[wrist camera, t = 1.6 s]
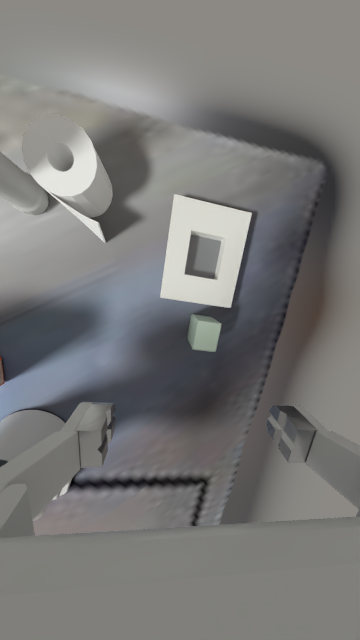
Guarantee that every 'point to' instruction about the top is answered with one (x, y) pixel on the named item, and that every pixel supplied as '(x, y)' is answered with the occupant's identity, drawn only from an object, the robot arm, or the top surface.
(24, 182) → the bottle
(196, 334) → the plug
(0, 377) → the cracker box
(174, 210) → the socket plate
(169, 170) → the top surface
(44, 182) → the toilet paper
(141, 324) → the top surface
